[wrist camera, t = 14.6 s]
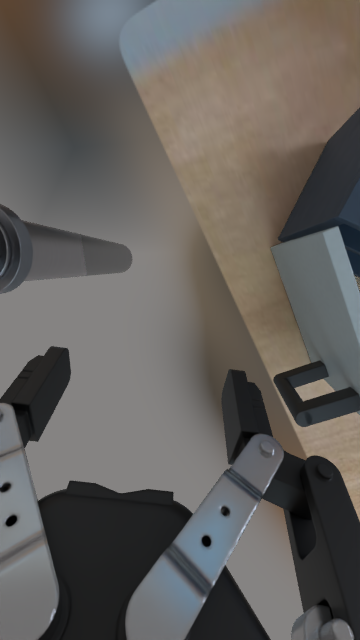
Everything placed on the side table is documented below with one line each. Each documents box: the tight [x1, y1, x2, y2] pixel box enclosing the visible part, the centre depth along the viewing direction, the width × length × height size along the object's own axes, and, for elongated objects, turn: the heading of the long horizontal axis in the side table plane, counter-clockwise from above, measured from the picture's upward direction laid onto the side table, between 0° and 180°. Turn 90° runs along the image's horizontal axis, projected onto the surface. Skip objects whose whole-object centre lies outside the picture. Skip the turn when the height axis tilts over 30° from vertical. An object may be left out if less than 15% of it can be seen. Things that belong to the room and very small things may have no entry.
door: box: [271, 226, 360, 427], centre depth 26 cm, size 6×16×15 cm, turn 23°
